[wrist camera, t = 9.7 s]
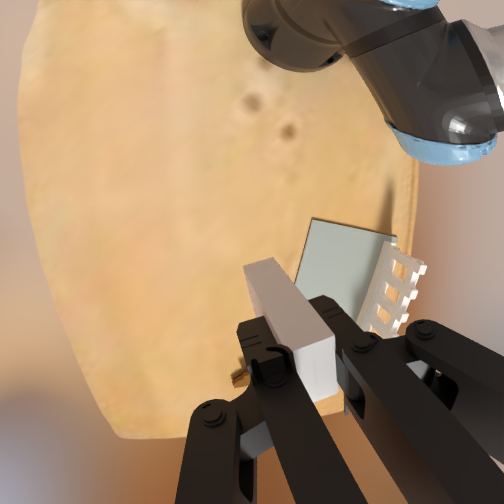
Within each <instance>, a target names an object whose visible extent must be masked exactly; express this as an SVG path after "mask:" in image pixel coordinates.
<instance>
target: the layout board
mask: <svg viewBox="0 0 504 504" xmlns="http://www.w3.org/2000/svg"><path fill="white" fill-rule="evenodd" d="M397 239H398V238H397V237H394V236H389V235H385V234H380V233H376V232H371V231H367V230H362V229H357V228H353V227H348V226H343V225H338V224H333V223H328V222H323V221H318V220H313V219H312V221H311V225H310V229H309V233H308V236H307V240H306V244H305V248H304V252H303V255H302V259H301V263H300V266H299V270H298V274H297V277H296V281H295V285H296V287H297V288H298V289H299V290H300V292H301V293H302V294H303V295H304V297H305V298H306V299H307V300H309V299H312V298H315V297H318V296H321V295H325V296H328V297H330V298H332V299H334V300H335V301H336V302H337V303H338V304H339V306H340V307H341V308H342V309H343V310H344V311H345V313H347V314H348V315H349V316H350V317H351V318H352V319H353V320H354V322H355V323H356V324H357V325H358V326H359V327H360V328H361V325H362V323H363V320H364V317H363V316H364V313H365V310H368V307H369V304H370V302H371V299H372V298H371V294H372V291H373V290H375V287H376V285H377V282H378V279H379V276H378V273H379V270H380V268H382V266H383V263H384V260H385V257H386V254H385V251H386V248H387V246H389V245H392V246H396V242H397Z"/></svg>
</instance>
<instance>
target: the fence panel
mask: <svg viewBox="0 0 504 504" xmlns="http://www.w3.org/2000/svg"><path fill="white" fill-rule="evenodd" d="M385 254H386V257H385V260H384V263H383V266H382V268H380V270H379V273H378V276H379V279H378V282H377V285H376V287H375V290H373V291H372V294H371V298H372V299H371V302H370V304H369V307H368V310H365V313H364V316H363V317H364V320H363V323H362V325H361V329H362V330H363V331H364V332H365V331H368V332H370V331H371V329H372V327H374V328H375V329H376V330H377V331H378V333H379V334H380V335H381V336H382V339H387V338H393V337H398V336H399V335H398V334H397V331H398V328H399V326H400V324H401V322H406V321H407V318H408V315H409V314H408V313H407V312H406V309H407V307H408V304H409V302H410V299H415V298H416V296H417V293H418V290H416V289H415V286H416V283H417V280H418V277H419V274H421V275H424V274H425V271H426V268H427V266H426V265H425V264H423V261H422V260H420V259H416V258H412V257H411V256H409V255H407V254H405V253H403V252H402V251H400V248H398V247H396V246H392V245H389V246H387V248H386V251H385ZM396 261H398V262H399V263H401V264H402V265H404V266H406V267H407V268H409V269H408V272H407V275H406V278H405V281H404V280H402V279H401V278H399V277H398V276H396V275H395V274H393V273H392V272H393V269H394V266H395V263H396ZM388 284H389V285H391V286H392V287H393V288H395V289H396V290H397V291H399V292H400V294H399V297H398V300H397V302H396V303H395V302H393V301H392V300H391V299H390V298H389V297H387V296H386V295H385V293H386V290H387V287H388ZM380 306H381V307H383V308H384V309H385V310H386V311H387V312H388V313H389V314H390V315H391V317H390V320H389V322H388V325H387V324H386V323H385V322H384V321H383V320H382V319H381V318H380V317H379V316H378V315H377V314H378V311H379V309H380Z"/></svg>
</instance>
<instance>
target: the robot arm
mask: <svg viewBox="0 0 504 504" xmlns="http://www.w3.org/2000/svg"><path fill="white" fill-rule="evenodd" d="M439 1H440V0H250V1H249V3H248V5H247V7H246V9H245V12H244V19H243V22H244V29H245V33H246V35H247V38H248V39H249V41H250V43H251V44H252V46H253V47H254V48H255V50H256V51H257V52H258V53H259V54H260V55H261V56H263V57H264V58H265V59H266V60H268V61H269V62H271V63H273V64H274V65H276V66H278V67H281V68H283V69H286V70H290V71H294V72H315V71H319V70H322V69H324V68H326V67H328V66H331V65H333V64H334V63H336V62H337V61H338V60H340V59H341V58H342V57H343V56H344V54H345V53H346V54H347V55H348V57H349V58H350V60H351V62H352V63H353V65H354V66H355V68H356V69H357V71H358V72H359V74H360V76H361V77H362V79H363V80H364V82H365V84H366V85H367V87H368V88H369V90H370V92H371V93H372V95H373V97H374V99H375V101H376V102H377V104H378V106H379V108H380V110H381V112H382V114H383V115H384V119H385V122H386V124H387V125H388V127H389V128H390V129H391V130H392V131H393V133H394V135H395V136H396V138H397V140H398V142H399V144H400V146H401V147H402V149H403V150H404V151H405V152H406V153H407V154H408V155H410V156H412V157H414V158H416V159H418V160H419V161H421V162H425V163H428V164H434V165H459V164H466V163H470V162H473V161H476V160H479V159H481V157H482V155H488V154H489V153H490V152H492V151H493V149H494V148H495V146H496V142H497V132H502V131H504V25H501V26H497V27H493V28H489V29H485V28H480V27H478V26H477V25H475V24H473V23H471V22H469V21H467V20H465V19H461V20H459V21H455V22H452V23H448V22H447V21H446V19H445V18H444V16H443V14H442V13H441V11H440V9H439V8H438V6H437V4H438V2H439ZM243 269H244V273H245V277H246V281H247V285H248V288H249V292H250V296H251V300H252V304H253V307H254V311H255V314H256V317H257V318H254V319H251V320H248V321H245V322H241V323H239V325H238V329H237V332H236V333H237V336H238V339H239V342H240V345H241V349H242V352H243V355H244V358H245V361H246V364H247V369H248V372H249V375H250V384H249V386H248V388H247V389H246V391H245V392H244V393H243V394H241V395H240V396H239V397H237V398H236V399H234V400H232V401H230V402H228V401H226V400H223V399H213V400H209V401H206V402H204V403H202V404H200V405H199V406H198V407H197V408H196V409H195V410H194V411H193V414H192V416H191V419H190V424H189V429H188V434H187V439H186V444H185V450H184V455H183V460H182V465H181V471H180V477H179V482H178V488H177V493H176V499H175V504H257V456H258V455H260V454H262V453H263V452H265V451H266V450H268V449H270V448H271V447H272V446H274V447H275V449H276V452H277V455H278V458H279V460H280V463H281V466H282V469H283V471H284V474H285V476H286V479H287V482H288V484H289V487H290V490H291V492H292V495H293V497H294V500H295V502H296V504H368V503H367V501H366V499H365V497H364V495H363V494H362V492H361V490H360V488H359V486H358V484H357V483H356V481H355V479H354V477H353V475H352V474H351V472H350V470H349V468H348V466H347V464H346V463H345V461H344V459H343V457H342V455H341V454H340V452H339V450H338V448H337V446H336V444H335V442H334V441H333V439H332V437H331V435H330V433H329V431H328V429H327V428H326V426H325V424H324V422H323V420H322V418H321V416H320V414H319V413H318V411H317V409H316V407H315V405H314V402H317V401H319V400H322V399H324V398H327V397H329V396H332V395H334V394H337V393H338V384H339V385H340V387H341V388H342V390H343V391H344V412H345V415H348V408H349V410H350V411H351V413H352V415H353V416H354V418H355V419H356V421H357V423H358V424H359V426H360V427H361V429H362V431H363V432H364V434H365V435H366V437H367V439H368V440H369V442H370V443H371V445H372V446H373V448H374V450H375V451H376V453H377V454H378V456H379V458H380V459H381V461H382V462H383V464H384V466H385V467H386V469H387V470H388V472H389V473H390V475H391V477H392V478H393V480H394V481H395V483H396V484H397V486H398V488H399V489H400V491H401V493H402V494H403V495H404V497H405V499H406V500H407V502H408V504H504V473H503V472H502V471H501V469H500V468H499V467H498V466H497V464H496V463H495V462H494V461H493V460H492V459H491V458H490V456H492V457H493V458H495V459H496V460H498V461H499V462H501V463H502V464H504V356H502V355H500V354H498V353H496V352H494V351H492V350H490V349H488V348H486V347H484V346H482V345H480V344H479V343H477V342H475V341H473V340H471V339H469V338H467V337H465V336H463V335H461V334H459V333H457V332H455V331H453V330H451V329H449V328H447V327H445V326H443V325H441V324H439V323H437V322H435V321H431V320H424V319H423V320H417V321H414V322H413V323H411V324H410V325H409V326H408V327H407V328H406V334H405V335H404V336H398V337H393V338H387V339H382V338H381V337H380V336H378V335H377V334H376V333H372V332H368V331H365V332H364V331H363V330H362V329H361V328H360V327H359V326H358V325H357V324H356V323H355V322H354V320H353V319H352V318H351V317H350V316H349V315H348V314H347V313H345V311H344V310H343V309H342V308H341V307H340V306H339V304H338V303H337V302H336V301H335V300H334V299H332V298H330V297H328V296H325V295H321V296H318V297H315V298H312V299H309V300H307V299H306V298H305V297H304V295H303V294H302V293H301V292H300V290H299V289H298V288H297V287H296V285H295V284H294V283H293V282H292V280H291V279H290V278H289V277H288V275H287V274H286V273H285V272H284V270H283V269H282V268H281V267H280V265H279V264H278V263H277V261H276V260H275V259H274V258H273V257H272V258H268V259H265V260H262V261H258V262H255V263H252V264H248V265H245V266H243ZM436 370H438V371H439V372H441V373H437V372H436ZM488 454H489V455H490V456H489V455H488Z"/></svg>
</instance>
